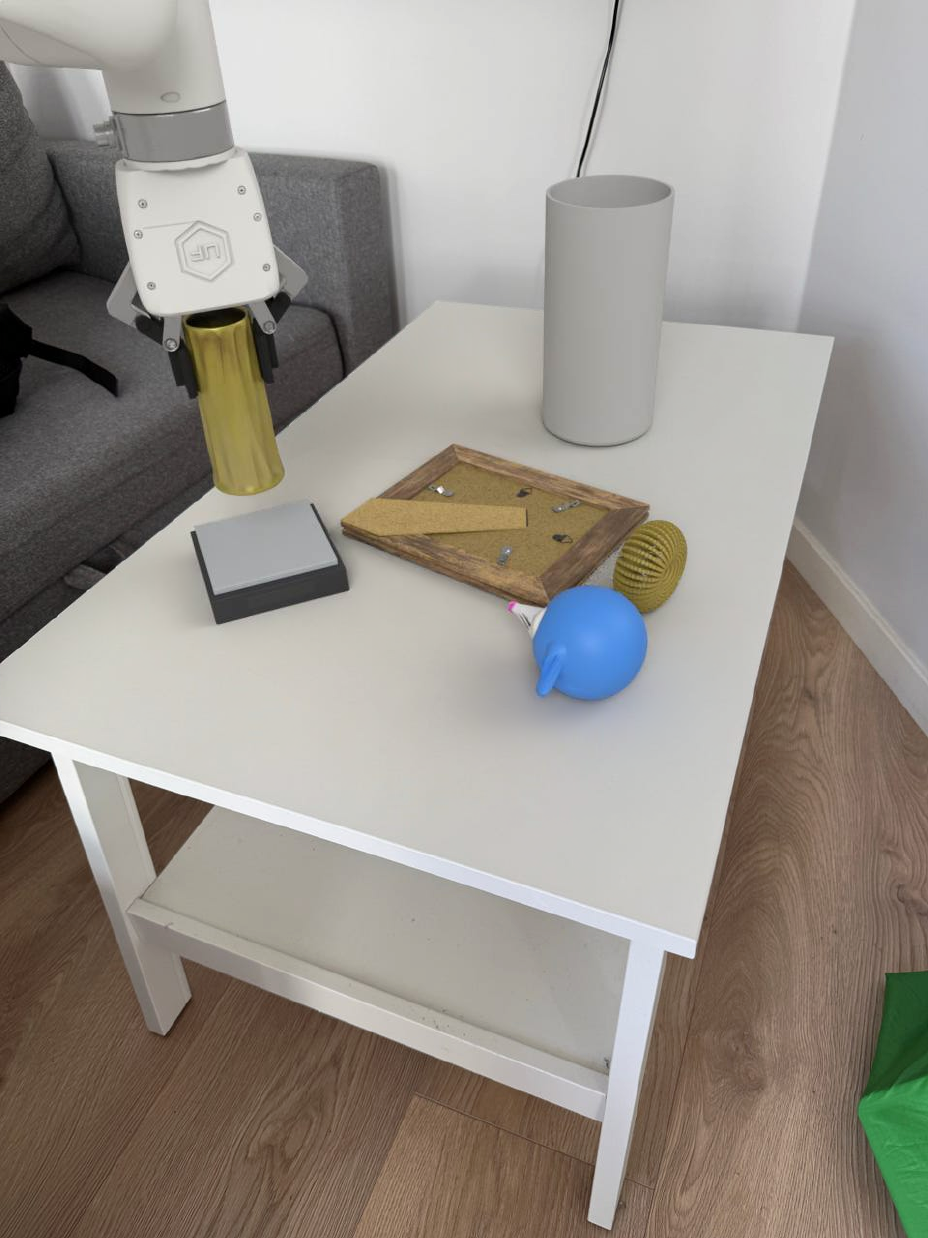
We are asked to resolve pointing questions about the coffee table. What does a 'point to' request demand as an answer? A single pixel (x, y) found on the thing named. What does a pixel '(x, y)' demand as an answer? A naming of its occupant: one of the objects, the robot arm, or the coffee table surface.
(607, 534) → the picture frame
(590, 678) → the blue mole toy
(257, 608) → the scale
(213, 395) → the vase
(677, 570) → the sculpture
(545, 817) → the coffee table surface
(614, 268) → the cylinder vase
